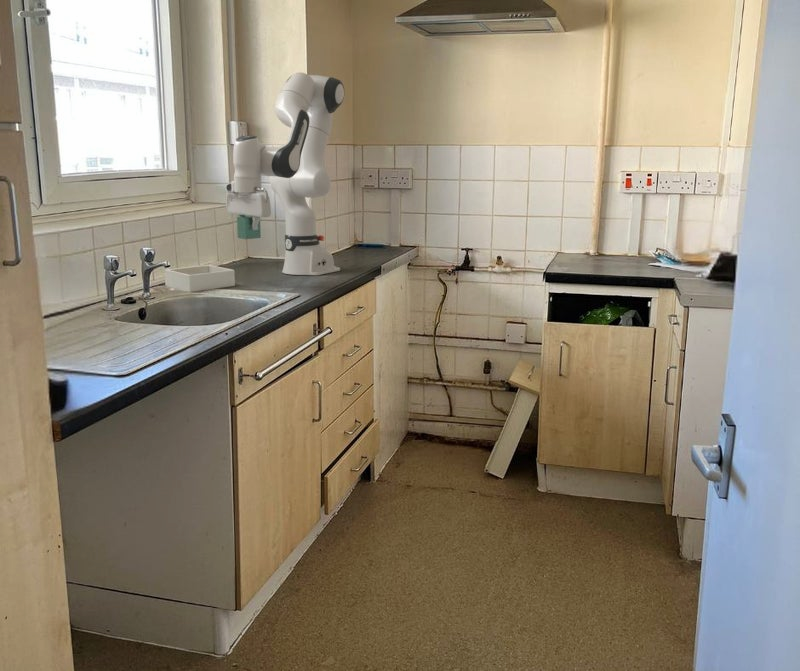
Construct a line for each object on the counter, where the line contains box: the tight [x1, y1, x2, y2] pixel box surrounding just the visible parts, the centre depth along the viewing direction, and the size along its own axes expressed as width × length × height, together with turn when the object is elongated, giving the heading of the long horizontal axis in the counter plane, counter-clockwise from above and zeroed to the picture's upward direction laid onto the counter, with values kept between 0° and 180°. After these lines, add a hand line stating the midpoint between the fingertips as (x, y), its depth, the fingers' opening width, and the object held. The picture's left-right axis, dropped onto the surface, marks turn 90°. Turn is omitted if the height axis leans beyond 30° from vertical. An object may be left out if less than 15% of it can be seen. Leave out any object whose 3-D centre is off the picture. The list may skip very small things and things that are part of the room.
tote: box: [164, 264, 236, 293], centre depth 263 cm, size 17×15×6 cm
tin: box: [236, 215, 262, 240], centre depth 263 cm, size 6×4×7 cm
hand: (249, 229), depth 263 cm, fingers closed on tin, 4 cm apart
